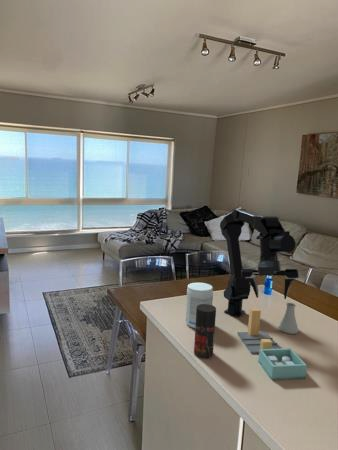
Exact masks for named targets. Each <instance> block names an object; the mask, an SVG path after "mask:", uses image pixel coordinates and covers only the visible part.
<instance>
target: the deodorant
mask: <svg viewBox="0 0 338 450" xmlns="http://www.w3.org/2000/svg"><path fill="white" fill-rule="evenodd" d="M216 316H217V307H216V306H215V305H213V304H212V305H209V304H200V305H198V306H197V309H196V325H195V328H194V342H193V343H194V344H193V345H194V346H193V355H194V356H195V357H196V358H199V359H202V360H203V359H204V360H208V359H211V358H212V357H213V356H214V343H215V331H216V330H215V329H216V319H217V317H216Z"/></svg>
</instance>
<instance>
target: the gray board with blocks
mask: <svg viewBox="0 0 338 450" xmlns="http://www.w3.org/2000/svg"><path fill="white" fill-rule="evenodd" d="M261 313H262V311H261V309H260V308H258V307H249V313H248V326H247V331H238V332H237V333H236V334H238V335H237V336H238V337H239V339H240V340H241V341H242V343H243V345H244V344H245V345H244V346H245V348H246V349H247V350H248V352H249V351H250V352H249V353H250V354H251V355H257V354H256V353H259V349H282V348H281V346H280V345H278V342H276V341H275V340H274V339H273V337H272V336H270V335H269V333H268V332H266V331H260V325H261V324H260V322H261V315H262V314H261ZM253 353H254V354H253Z"/></svg>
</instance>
